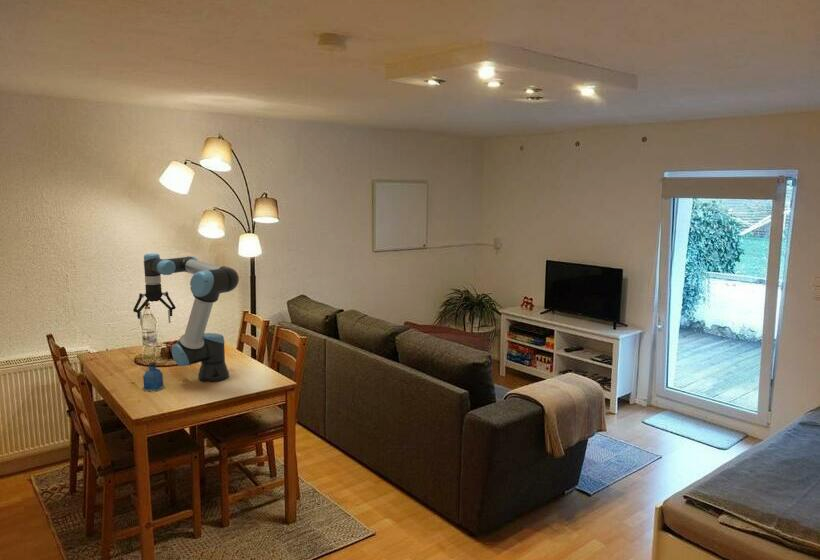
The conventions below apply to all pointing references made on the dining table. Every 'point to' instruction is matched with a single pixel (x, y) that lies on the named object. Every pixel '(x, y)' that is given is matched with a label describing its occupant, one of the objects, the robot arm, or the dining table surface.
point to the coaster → (153, 389)
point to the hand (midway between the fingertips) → (155, 323)
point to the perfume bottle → (153, 377)
